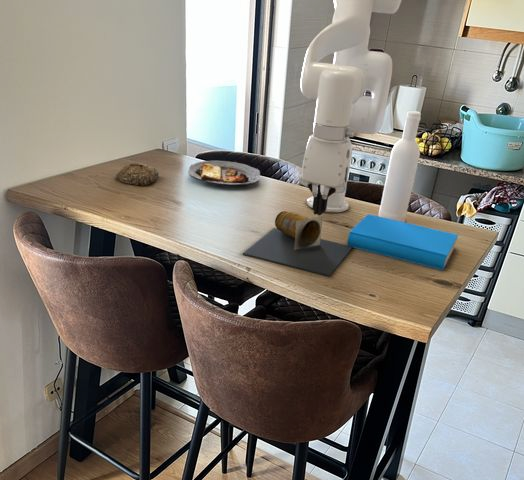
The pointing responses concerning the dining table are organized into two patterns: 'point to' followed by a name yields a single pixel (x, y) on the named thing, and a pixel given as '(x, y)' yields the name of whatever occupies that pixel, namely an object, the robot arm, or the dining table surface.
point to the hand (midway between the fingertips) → (318, 213)
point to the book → (403, 241)
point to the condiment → (300, 228)
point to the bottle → (401, 171)
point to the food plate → (224, 172)
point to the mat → (299, 253)
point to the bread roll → (137, 174)
